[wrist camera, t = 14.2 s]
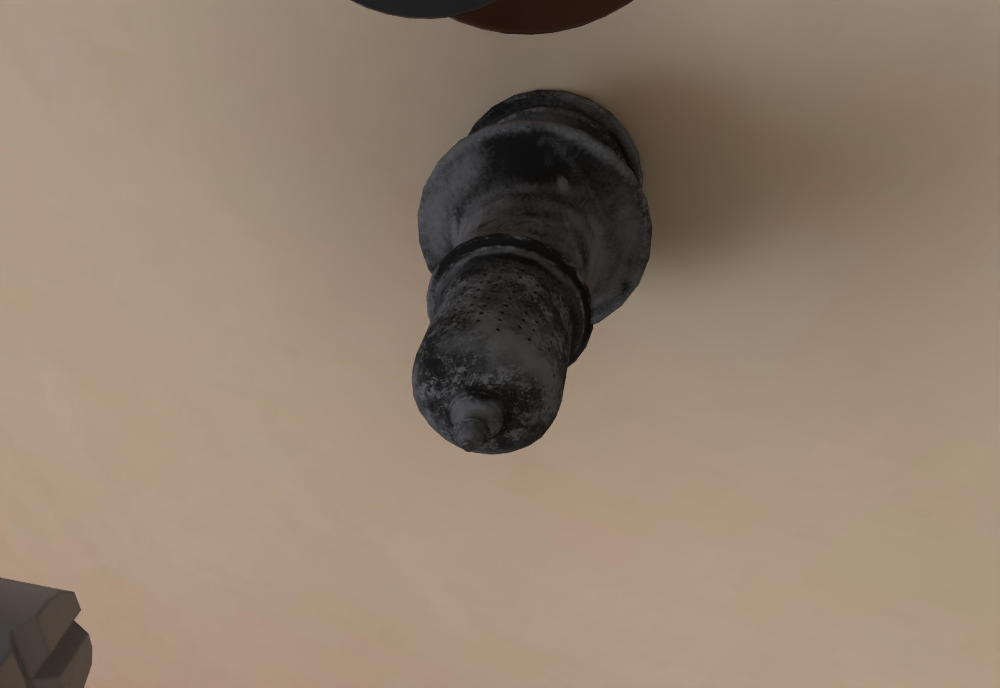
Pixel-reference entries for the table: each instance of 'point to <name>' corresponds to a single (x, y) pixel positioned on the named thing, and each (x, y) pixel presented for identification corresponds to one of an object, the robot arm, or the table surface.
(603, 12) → the vinegar bottle
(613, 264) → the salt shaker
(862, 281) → the table surface
